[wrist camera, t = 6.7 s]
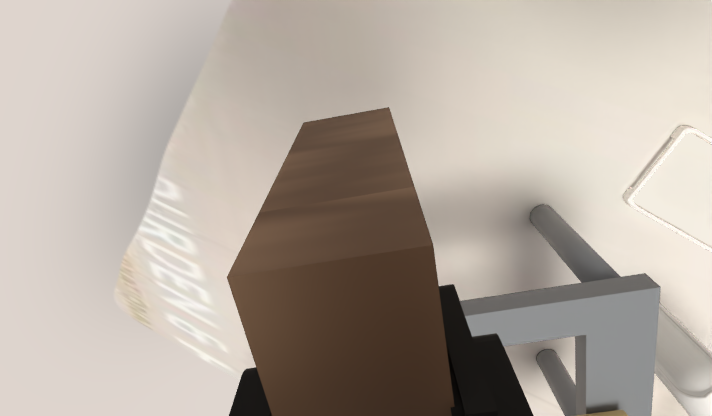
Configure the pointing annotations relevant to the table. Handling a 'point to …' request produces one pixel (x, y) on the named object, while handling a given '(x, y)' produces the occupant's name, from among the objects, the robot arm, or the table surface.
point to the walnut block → (344, 280)
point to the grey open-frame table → (582, 327)
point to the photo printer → (683, 365)
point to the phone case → (631, 192)
